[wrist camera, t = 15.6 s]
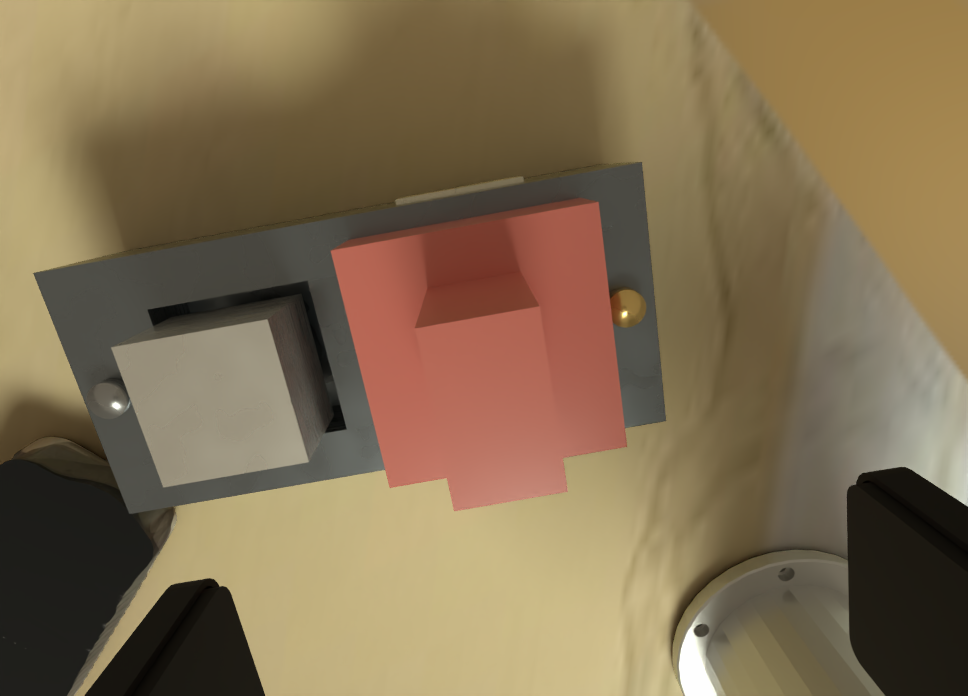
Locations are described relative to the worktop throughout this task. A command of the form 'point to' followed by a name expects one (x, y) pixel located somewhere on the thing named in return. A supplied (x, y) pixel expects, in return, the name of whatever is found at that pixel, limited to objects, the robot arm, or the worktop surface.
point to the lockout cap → (486, 349)
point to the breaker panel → (312, 274)
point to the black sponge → (66, 564)
